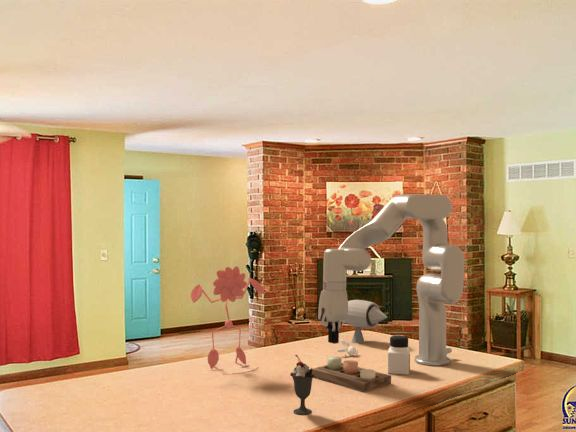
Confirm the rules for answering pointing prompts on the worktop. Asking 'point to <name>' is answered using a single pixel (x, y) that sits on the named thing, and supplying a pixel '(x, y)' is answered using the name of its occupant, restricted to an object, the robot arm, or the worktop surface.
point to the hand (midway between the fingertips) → (333, 342)
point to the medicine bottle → (399, 355)
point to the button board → (351, 379)
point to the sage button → (334, 363)
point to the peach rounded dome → (350, 367)
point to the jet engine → (363, 317)
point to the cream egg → (367, 374)
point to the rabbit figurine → (350, 349)
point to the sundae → (302, 385)
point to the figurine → (230, 289)
